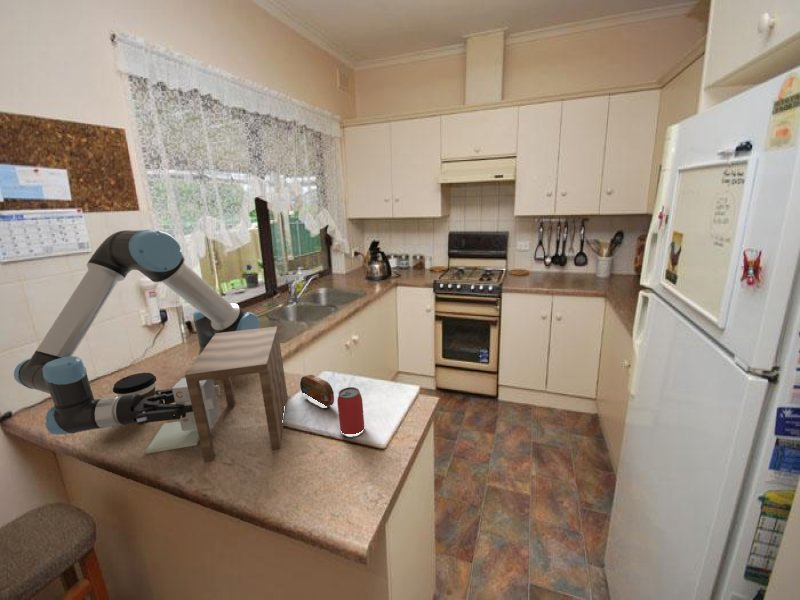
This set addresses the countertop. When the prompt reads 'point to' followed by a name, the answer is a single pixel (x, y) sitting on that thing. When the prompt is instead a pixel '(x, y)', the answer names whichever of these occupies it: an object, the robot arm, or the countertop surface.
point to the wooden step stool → (240, 358)
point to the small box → (183, 396)
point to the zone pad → (173, 438)
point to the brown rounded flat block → (317, 389)
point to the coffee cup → (136, 385)
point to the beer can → (350, 411)
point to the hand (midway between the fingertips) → (216, 396)
